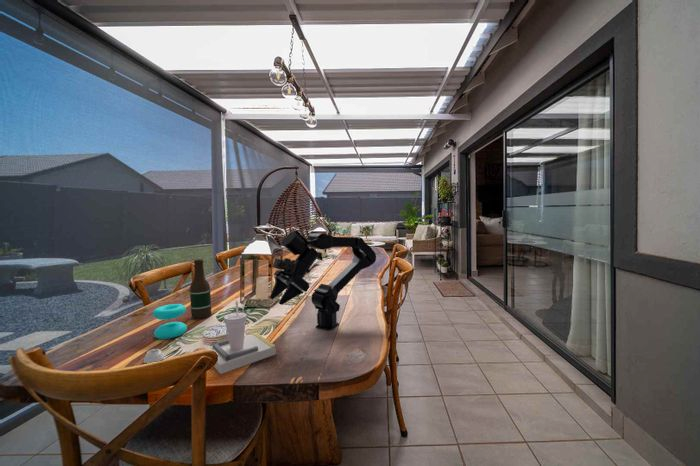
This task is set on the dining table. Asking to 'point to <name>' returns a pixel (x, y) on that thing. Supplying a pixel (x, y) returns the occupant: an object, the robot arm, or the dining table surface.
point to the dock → (242, 352)
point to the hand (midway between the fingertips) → (275, 301)
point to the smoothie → (235, 328)
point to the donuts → (173, 327)
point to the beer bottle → (200, 293)
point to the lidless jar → (153, 356)
